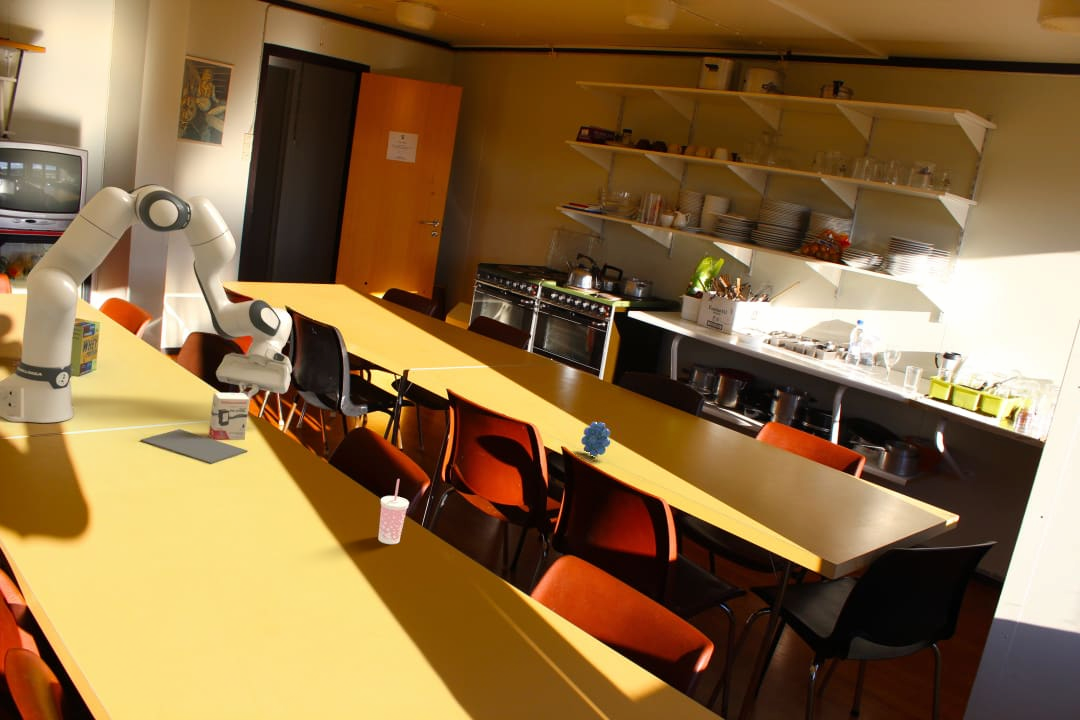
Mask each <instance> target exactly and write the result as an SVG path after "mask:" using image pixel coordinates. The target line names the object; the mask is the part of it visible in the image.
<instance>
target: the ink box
mask: <svg viewBox="0 0 1080 720" xmlns="http://www.w3.org/2000/svg"><path fill="white" fill-rule="evenodd" d="M212 395H213V396H212V405H211V413H210V420H209V421H210V422H209V429H208V430H209V431H208V434H209V436H210V439H213V440H216V441H219V440H221V441H222V440H225V441H226V440H227V441H229V440H234V441H235V440H236V441H237V440H238V441H239V440H242V441H243V440H246V433H247V432H246V431H247V424H248V417H249V415H248V414H249V408H250V401H251V399H249V398H248V397H247V395H246V394H244V393H240V392H215V393H214V392H213V394H212Z"/></svg>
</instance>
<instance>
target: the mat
mask: <svg viewBox="0 0 1080 720" xmlns="http://www.w3.org/2000/svg"><path fill="white" fill-rule="evenodd" d="M139 441H140V442H142V443H144V444H148V445H151V446H155V447H158V448H161V449H163V450H166V451H170V452H172V453H176V454H179V455H182V456H185V457H188V458H192V459H194V460H197V461H200V462H204V463H206V464H209V465H213V464H216V463H219V462H221V461H224V460H227V459H231V458H233V457H237V456H239V455H243V454H245V453H248V452H249V451H248V450H247V449H244V448H241V447H238V446H235V445H231V444H229V443H225V442H222V441H219V440H213V439H212V438H211V437H210V438H209V437H206V436H202V435H199V434H196V433H194V432H190V431H187V430H184V429H180V428H179V429H175V430H171V431H168V432H163V433H160V434H156V435H153V436H150V437H149V436H148V437H145V438H140V440H139Z"/></svg>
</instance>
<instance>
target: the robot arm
mask: <svg viewBox="0 0 1080 720" xmlns="http://www.w3.org/2000/svg"><path fill="white" fill-rule="evenodd" d="M139 223H141V224H142V225H143V226H145V227H146V228H148V229H149V230H152V231H155V232H158V233H167V232H173V231H181V232H182V234H183V235H184V237H185V238H186V240H187V243H188V244H189V247H190V249H191V250H192V252H193V256H194V261H193V263H192V264H193V265H192V266H193V271H194V275H195V278H196V281H197V283H198V285H199V288H200V290H201V293H202V296H203V298H204V300H205V303H206V306H207V308H208V311H209V315H210V318H211V323H212V326H213V327H212V328H213V330H214V331H215V333H217V334H218V335H219V336H220V337H221V338H223V339H225V340H235V339H238V338H241V337H247V336H250V337H251V338H252V342H251V343H250V345H249V348H248V350H247V351H246V354H243V353H236V352H231V353H228V354H225V355H224V357H223V359H222V360H221V361H222V362H221V363H220V364H219V366H218V367H217V368H216V369H217V370H215V375H216V378H217V379H218V381H219V382H221V383H227V384H232V385H236V386H238V387H239V393H244V394H246V395H247V397H248V398H249V399H250V400H251V399H252V397H253V396H254V395H256V394H257V393H258V392H259V390H261V391H266V392H270V393H276V394H279V395H281V394H282V395H283V394H285V393H287V392H288V390H289V388H290V387H289V386H290V384H291V383H290V382H291V380H292V379H291V378H292V377H291V373H292V372H293V366H292V364H291V360H290V359H289V356H287V355H284V354H283V353H282V350H283V348H284V347H285V346H286V343H288V340H289V337H290V334H291V332H292V331H291V330H292V325H293V319H292V317H291V315H290V313H288V311H286V310H284V309H283V308H281V307H272V306H271V305H270V304H269V303H268V302H266V301H265V300H262V299H254V300H248V301H242V302H237V303H234V302H232V301H230V300H229V299H228V295H227V294H226V291H225V289H224V286H223V284H222V281H221V279H220V272H221V270H222V269H223V268H224V267H225V266H227V265H228V264H229V263H230V262H231V261H232V260H233V257H234V256H235V253H236V248H237V247H236V246H237V245H236V242H235V238H234V237H233V234H232V233H231V230H230V229H229V227H228V225H227V223H226V221H225V220H224V218H223V217H222V215H221V214H220V212H219V211H218V209H217V207H216V206H215V205H214V204H213V203H212V202H211V200H210V199H208V197H207V198H206V197H204V196H191V197H189V198H187V199H182V198H181V197H178V196H177V195H176V194H175V193H174V192H172V191H171V190H169V189H168V188H166V187H164V186H162V185H159V184H154V183H153V184H152V183H151V184H144V185H142V186H139V187H137V188H135V189H132V190H130V191H125V190H124V189H122V188H120V187H119V188H118V187H115V186H107V187H104V188H102V189H101V190H100V191H99V192H97V193H96V194H95V195H94V196H93V197H92V198H91V199H90V200H89V201H88V202H87V203H86V204H85V205H84V206H83V207H82V209H80V210H79V213H78V214H77V215H76V216H75V218H74V219H73V220H72V222H71V223H70V224H69V226H67V228H66V230H64V232H63V233H62V234H61V236H60V237H59V238H58V239H57V241H56V242H55V243H54V244H53V245H52V246H51V247H50V248H49V250H47V252H46V253H45V254H44V255H43V256H42V257H41V258H40V260H39V261H38V262H37V263H36V264H35V265H34V266H33V267H32V269H31V270H30V272H29V273H28V275H27V277H26V283H25V285H26V293H27V294H26V305H25V306H26V307H25V317H24V326H23V333H22V335H23V337H22V350H21V359H20V360H14V361H12V363H14V364H12V366H13V367H14V366H15V367H16V368H15V371H14V373H12V374H11V375H9V376H7V377H6V378H3V379H2V380H0V417H1V418H2V419H5V420H6V421H8V422H15V423H16V422H21V423H23V422H27V423H42V424H45V423H46V424H47V423H59V422H63V421H67V420H70V419H72V418H73V417H74V413H73V411H74V410H75V408H74V405H73V404H72V403H73V402H72V398H73V397H72V382H71V377H72V375H71V374H72V363H71V362H70V361H71V349H72V337H73V330H74V324H75V318H77V315H76V314H77V309H78V308H77V307H78V300H79V289H78V288H79V287H80V286H81V285H82V283H84V281H85V280H86V279H87V278H88V277H89V276H90V275H91V274H92V273H93V272H94V271H95V270H96V269H97V268H98V267H99V266H100V265H101V264H102V263H103V262H104V260H105V259H106V257H107V256H108V255H109V254H110V252H111V251H112V250H113V248H114V247H115V246H116V244H118V242H119V240H120V239H121V237H122V236H123V235H124V233H125V232H126V231H127V230H128V229H129V228H130V227H131V226H133V225H135V224H139ZM247 388H251V389H250V390H249V391H245V390H246V389H247Z"/></svg>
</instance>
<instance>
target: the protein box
mask: <svg viewBox="0 0 1080 720" xmlns="http://www.w3.org/2000/svg"><path fill="white" fill-rule="evenodd" d="M100 328H101V321H100V322H99V321H97V320H95V321H94V320H88V319H83V318H79V317H78V318H77V317H75V324H74V330H73V337H72V349H71V361H70V362H71V363H72V374H71V376H74V377H81V376H84V375H87V374H89V373H91V372H94V371H97V364H98V362H97V361H98V353H99V352H98V349H99V340H100V331H101V330H100Z"/></svg>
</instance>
